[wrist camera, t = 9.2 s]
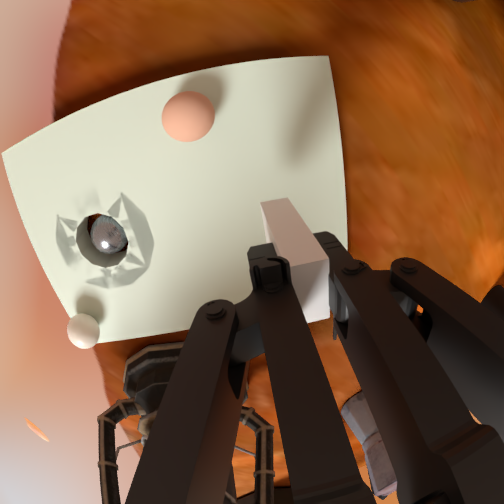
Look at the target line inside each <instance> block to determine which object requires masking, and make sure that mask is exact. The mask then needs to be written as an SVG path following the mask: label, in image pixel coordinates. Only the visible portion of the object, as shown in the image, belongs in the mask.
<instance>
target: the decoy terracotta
mask: <svg viewBox="0 0 504 504" xmlns="http://www.w3.org/2000/svg"><path fill="white" fill-rule="evenodd" d="M214 120H215V110H214V107H213V105H212V103H211V101H210V100H209V99H208V98H207V97H206V96H205V95H203V94H201V93H199V92H195V91H184V92H181V93H178V94H176V95H174V96H173V97H172V98H170V99H169V100H168V102H167V103H166V104H165V106H164V108H163V111H162V124H163V127H164V129H165V131H166V132H167V134H168V135H169V136H171V137H172V138H173V139H175V140H178V141H182V142H192V141H196V140H198V139H200V138H202V137H204V136H205V135H206V134H207V133H208V132H209V131H210V129H211V128H212V126H213V124H214Z"/></svg>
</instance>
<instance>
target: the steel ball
mask: <svg viewBox="0 0 504 504" xmlns="http://www.w3.org/2000/svg"><path fill="white" fill-rule="evenodd" d="M91 240H92V243H93V245H94V246H95V247H96V248H97V249H98V250H99V251H100V252H103V253H106V254H113V253H116V252H118V251H120V250H121V249H122V248H123V247H124V246H125V245H126V243H127V241H128V239H127V237H126V234H125V231H124V228H123V227H122V226H121V225H120V224H119V223H118V222H117V221H116V220H115V219H114V218H112V217H111V216H107V215H101V216H100V217H98V218H97V219H96V220H95V222H94V223H93V225H92V228H91Z"/></svg>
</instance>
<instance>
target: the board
mask: <svg viewBox="0 0 504 504" xmlns="http://www.w3.org/2000/svg"><path fill="white" fill-rule="evenodd" d="M184 91H195V92H199V93H201V94H203V95H205V96H206V97H207V98H208V99H209V100H210V101H211V103H212V105H213V107H214V110H215V120H214V124H213V126H212V128H211V129H210V131H209V132H208V133H207V134H206V135H205V136H204V137H202V138H200V139H198V140H196V141H192V142H182V141H178V140H175V139H173V138H172V137H171V136H169V135H168V134H167V132H166V131H165V129H164V127H163V124H162V111H163V108H164V106H165V104H166V103H167V102H168V100H169V99H170V98H172V97H173V96H174V95H176V94H178V93H181V92H184ZM2 157H3V161H4V165H5V169H6V172H7V176H8V179H9V182H10V186H11V189H12V192H13V195H14V198H15V201H16V204H17V207H18V210H19V213H20V215H21V218H22V221H23V223H24V226H25V228H26V231H27V233H28V236H29V238H30V241H31V243H32V245H33V247H34V249H35V252H36V254H37V256H38V258H39V260H40V263H41V265H42V267H43V269H44V271H45V273H46V275H47V277H48V279H49V281H50V283H51V285H52V286H53V288H54V290H55V292H56V294H57V296H58V297H59V299H60V301H61V303H62V305H63V306H64V308H65V310H66V311H67V313H68V315H69V316H70V318H72V317H73V316H75V315H77V314H81V313H83V314H88V315H90V316H92V317H93V318H94V319H95V320H96V321H97V323H98V325H99V328H100V337H99V340H98V342H97V343H103V342H111V341H118V340H126V339H133V338H140V337H146V336H153V335H159V334H165V333H171V332H177V331H183V330H188V329H190V327H191V324H192V322H193V319H194V317H195V315H196V312H197V311H198V309H199V308H200V307H201V306H202V305H204V304H205V303H207V302H209V301H212V300H217V299H224V300H228V301H230V302H232V303H233V304H236V303H239V302H241V301H243V300H244V299H246V298H247V297H248V296H249V295H250V294H251V292H252V290H253V287H252V282H251V277H250V272H249V262H248V257H247V252H248V250H249V248H250V247H251V246H256V245H261V244H266V243H267V242H266V236H265V230H264V224H263V218H262V212H261V206H260V202H265V201H270V200H276V199H281V198H287V197H288V199H289V200H290V202H291V203H292V205H293V206H294V207H295V209H296V210H297V212H298V213H299V215H300V216H301V217H302V219H303V220H304V222H305V223H306V225H307V226H308V228H309V229H310V231H311V232H312V234H313V233H318V232H323V231H328V232H330V233H332V234H334V235H335V236H336V237H337V239H338V240H339V242H341V244H342V245H343V246H344V247H345V249H346V250H347V251H348V246H347V212H346V193H345V178H344V165H343V154H342V144H341V135H340V126H339V118H338V111H337V104H336V97H335V90H334V84H333V78H332V72H331V67H330V62H329V56H303V57H287V58H276V59H266V60H257V61H250V62H243V63H236V64H230V65H224V66H219V67H214V68H209V69H204V70H199V71H195V72H191V73H187V74H182V75H179V76H175V77H171V78H167V79H164V80H160V81H157V82H153V83H150V84H147V85H144V86H141V87H138V88H135V89H132V90H129V91H126V92H123V93H120V94H118V95H115V96H112V97H110V98H107V99H105V100H102V101H100V102H97V103H95V104H93V105H90V106H88V107H86V108H83V109H81V110H79V111H77V112H75V113H72V114H70V115H68V116H66V117H64V118H62V119H60V120H58V121H56V122H54V123H52V124H50V125H48V126H46V127H45V128H43V129H41V130H39V131H37V132H36V133H34V134H32V135H30V136H29V137H27V138H25V139H24V140H22V141H21V142H19V143H17V144H15V145H14V146H12V147H11V148H9V149H7V150H6V151H4V152H3V153H2ZM96 213H99V214H103V215H107V216H111V217H112V218H114V219H115V220H116V221H117V222H118V223H119V224H120V225H121V226H122V227H123V228H124V231H125V234H126V237H127V239H128V248H127V250H126V251H122V252H118V253H113V254H106V253H103V252H100V251H99V250H98V249H97V248H96V247H95V246H94V245H93V243H92V240H91V238H90V235H89V233H88V230H87V225H88V216H90V215H93V214H96Z"/></svg>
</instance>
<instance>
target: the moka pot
mask: <svg viewBox="0 0 504 504" xmlns="http://www.w3.org/2000/svg"><path fill="white" fill-rule="evenodd" d="M341 415H342V417H343V418H344V420H345V421H346V422H347V424H348V425H349V427H350V428H351V430H352V431H353V433H354V434H355V436H356V437H357V439H358V440H359V442H360V443H361V444H362V445H363V446H362V448H363V451H364V453H365V461H366V465H367V468H368V474H369V479H370V484H371V489H372V493H373V494H374V495H375V496H378V497H379V498H381V499H382V500H384V499H385V498H386V497H387V495H389V494H391V493H392V492H394V491H396V489H397V478H396V475H395V472H394V469H393V467H392V464H391V461H390V459H389V456H388V453H387V451H386V448H385V446H384V443H383V440H382V438H381V435H380V433H379V430H378V428H377V425H376V423H375V420H374V418H373V415H372V413H371V410H370V408H369V406H368V403H367V401H366V398H365V396H364V394H363V391H361V392H360V393H358V394H356V395H355V396H353V397H352V398H351V399H349V401H347V402H346V403H345V404H344V406H343V408H342V410H341Z"/></svg>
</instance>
